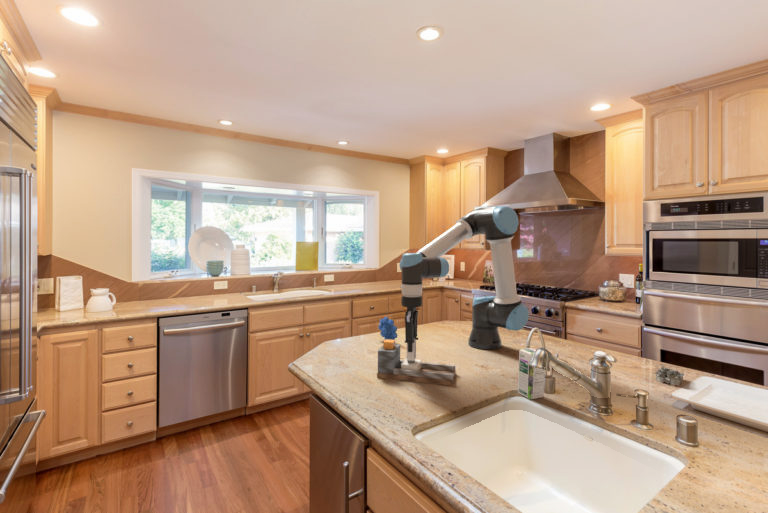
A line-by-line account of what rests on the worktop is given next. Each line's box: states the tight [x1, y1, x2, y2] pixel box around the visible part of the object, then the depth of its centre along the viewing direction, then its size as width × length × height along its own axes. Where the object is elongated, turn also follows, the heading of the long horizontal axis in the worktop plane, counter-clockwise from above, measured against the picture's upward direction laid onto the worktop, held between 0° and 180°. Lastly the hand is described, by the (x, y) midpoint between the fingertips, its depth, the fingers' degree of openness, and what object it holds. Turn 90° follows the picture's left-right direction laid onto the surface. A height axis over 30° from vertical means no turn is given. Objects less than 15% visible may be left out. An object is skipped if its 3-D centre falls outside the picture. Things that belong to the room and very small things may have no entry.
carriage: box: [401, 337, 422, 371], centre depth 139 cm, size 6×7×12 cm
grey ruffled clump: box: [654, 366, 685, 387], centre depth 134 cm, size 10×7×4 cm
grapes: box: [378, 316, 398, 341], centre depth 183 cm, size 12×7×12 cm, turn 49°
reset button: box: [382, 339, 396, 349], centre depth 141 cm, size 4×4×3 cm
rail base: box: [376, 343, 457, 386], centre depth 138 cm, size 27×12×10 cm, turn 74°
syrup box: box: [517, 347, 545, 400], centre depth 121 cm, size 6×6×14 cm
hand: (411, 358), depth 139 cm, fingers closed on carriage, 2 cm apart
